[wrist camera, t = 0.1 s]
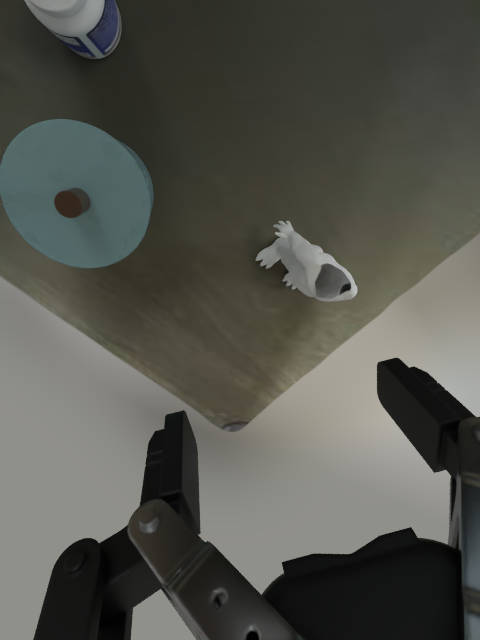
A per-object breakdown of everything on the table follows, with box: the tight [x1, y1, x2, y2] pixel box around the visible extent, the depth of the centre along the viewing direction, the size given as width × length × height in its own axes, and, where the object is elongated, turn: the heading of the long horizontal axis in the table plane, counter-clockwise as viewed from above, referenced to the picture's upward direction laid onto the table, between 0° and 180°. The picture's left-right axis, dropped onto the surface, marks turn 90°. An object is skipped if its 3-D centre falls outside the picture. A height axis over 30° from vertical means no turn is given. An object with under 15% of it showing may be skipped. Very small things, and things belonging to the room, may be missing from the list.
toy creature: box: [256, 221, 358, 301], centre depth 36 cm, size 12×6×12 cm, turn 50°
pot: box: [0, 119, 154, 268], centre depth 30 cm, size 12×12×12 cm
